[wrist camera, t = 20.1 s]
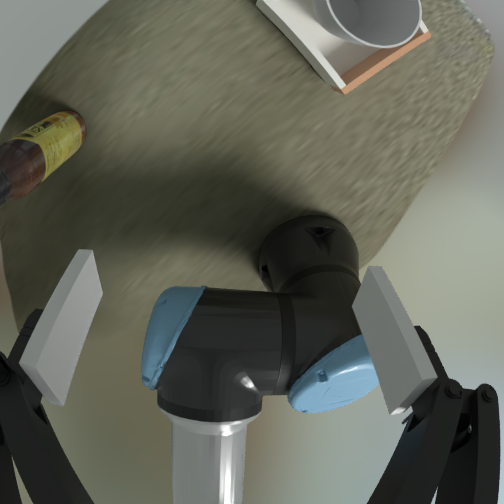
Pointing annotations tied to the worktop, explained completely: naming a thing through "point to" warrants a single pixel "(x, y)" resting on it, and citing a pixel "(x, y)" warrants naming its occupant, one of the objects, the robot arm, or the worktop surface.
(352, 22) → the cup
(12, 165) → the sauce bottle
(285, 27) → the white open box
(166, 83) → the worktop surface
